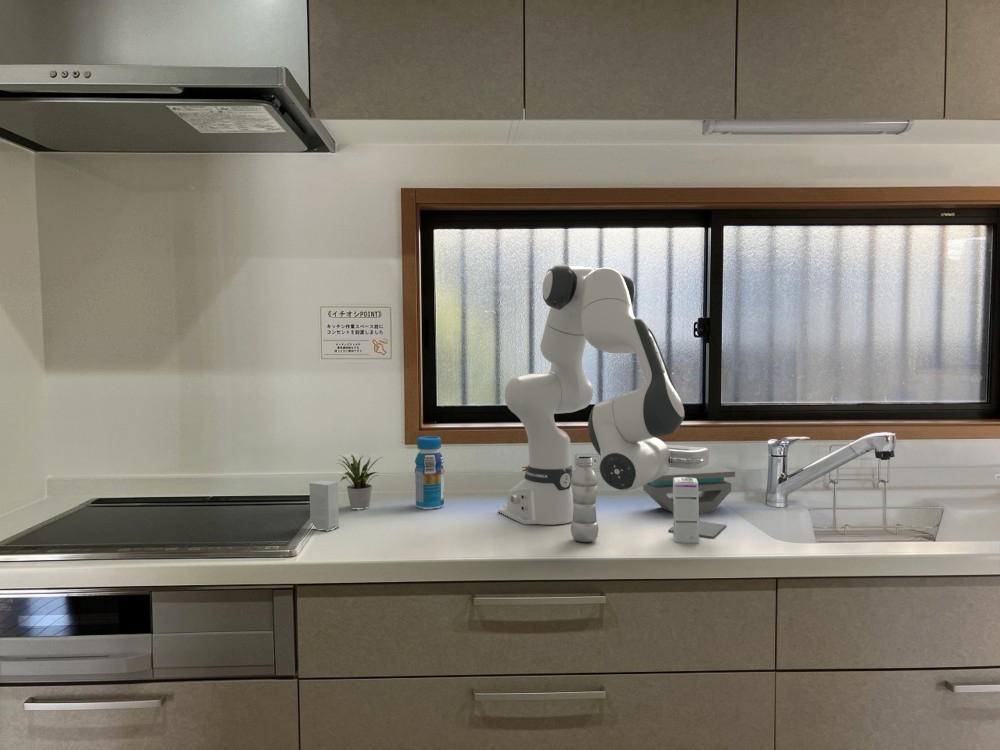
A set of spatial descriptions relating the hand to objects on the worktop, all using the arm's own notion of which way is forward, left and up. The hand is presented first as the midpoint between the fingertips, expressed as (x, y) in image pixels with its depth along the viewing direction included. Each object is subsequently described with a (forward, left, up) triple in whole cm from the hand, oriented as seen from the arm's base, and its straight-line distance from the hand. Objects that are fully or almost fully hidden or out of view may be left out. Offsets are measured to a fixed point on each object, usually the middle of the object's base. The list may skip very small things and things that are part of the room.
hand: (670, 449), depth 148 cm
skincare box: (-70, -49, -24) cm, 89 cm away
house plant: (-84, -33, -24) cm, 93 cm away
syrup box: (-4, +12, -24) cm, 27 cm away
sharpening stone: (-20, +36, -24) cm, 47 cm away
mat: (-7, +21, -23) cm, 32 cm away
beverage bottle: (-71, -16, -24) cm, 76 cm away
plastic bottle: (-19, -7, -24) cm, 31 cm away
